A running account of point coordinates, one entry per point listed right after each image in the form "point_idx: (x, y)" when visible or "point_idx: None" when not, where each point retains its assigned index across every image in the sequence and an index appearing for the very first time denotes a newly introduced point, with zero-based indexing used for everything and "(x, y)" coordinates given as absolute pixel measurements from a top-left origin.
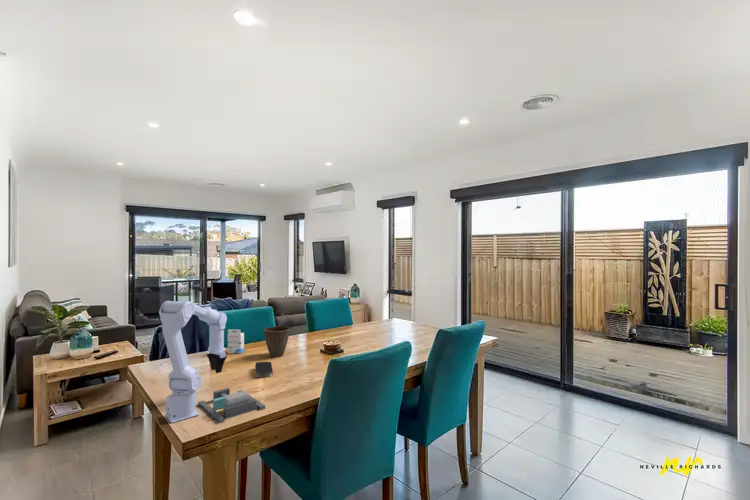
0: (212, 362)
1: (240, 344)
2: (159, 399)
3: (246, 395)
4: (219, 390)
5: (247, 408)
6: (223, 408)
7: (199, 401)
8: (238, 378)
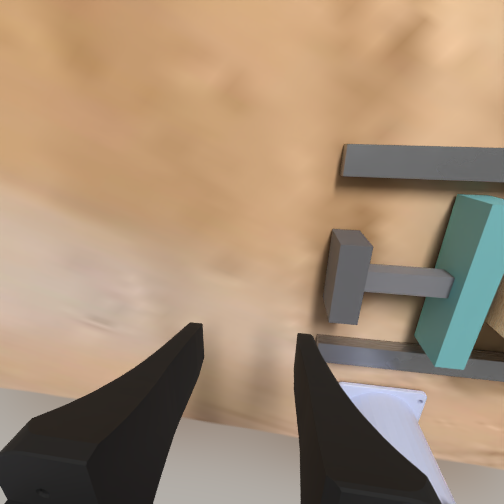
0: (174, 416)
1: None
2: None
3: None
4: (339, 295)
5: None
6: (496, 329)
7: None
8: (70, 26)
